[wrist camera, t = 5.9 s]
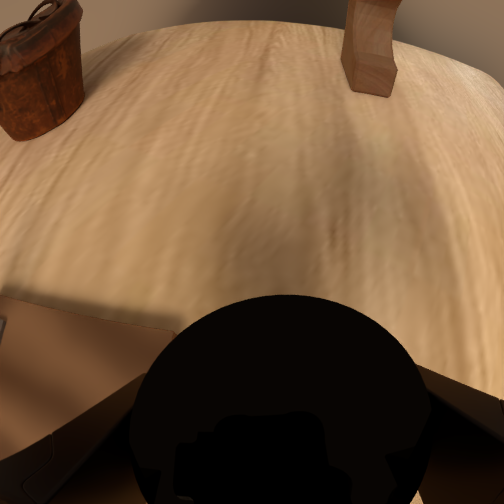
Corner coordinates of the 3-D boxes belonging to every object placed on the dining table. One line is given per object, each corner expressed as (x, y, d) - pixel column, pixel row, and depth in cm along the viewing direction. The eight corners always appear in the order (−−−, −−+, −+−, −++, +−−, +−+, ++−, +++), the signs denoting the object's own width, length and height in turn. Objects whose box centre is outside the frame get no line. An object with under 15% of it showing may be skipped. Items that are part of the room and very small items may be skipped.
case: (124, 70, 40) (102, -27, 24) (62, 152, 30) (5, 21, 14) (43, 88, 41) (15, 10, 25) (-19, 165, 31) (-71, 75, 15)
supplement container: (346, 388, 13) (452, 331, 6) (308, 500, 10) (379, 584, 3) (228, 354, 14) (195, 259, 7) (186, 464, 11) (91, 507, 4)
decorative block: (390, 99, 34) (422, -37, 17) (349, 91, 34) (371, -51, 17) (374, 66, 40) (394, -44, 23) (340, 59, 40) (354, -54, 23)
